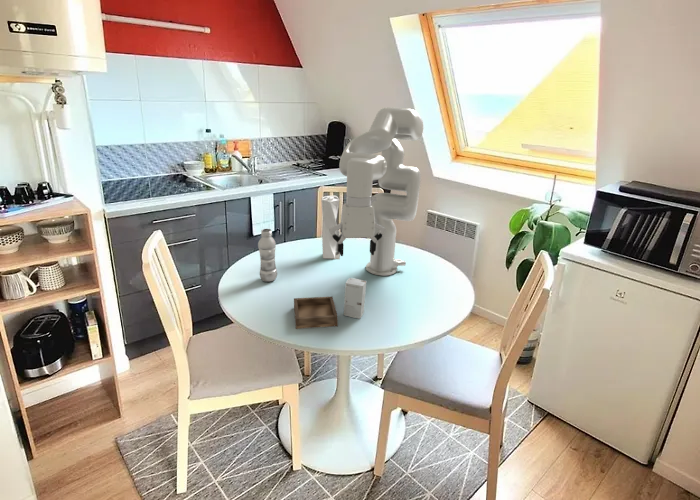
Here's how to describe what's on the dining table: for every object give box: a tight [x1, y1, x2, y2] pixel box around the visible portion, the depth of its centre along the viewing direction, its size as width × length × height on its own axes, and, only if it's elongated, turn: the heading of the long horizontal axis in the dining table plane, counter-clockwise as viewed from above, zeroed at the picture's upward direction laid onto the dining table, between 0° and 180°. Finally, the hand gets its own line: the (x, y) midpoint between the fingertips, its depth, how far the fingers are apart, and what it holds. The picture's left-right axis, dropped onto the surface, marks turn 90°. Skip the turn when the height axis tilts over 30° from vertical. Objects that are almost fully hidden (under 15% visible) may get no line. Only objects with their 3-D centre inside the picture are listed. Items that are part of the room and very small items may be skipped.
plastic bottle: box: [257, 228, 278, 283], centre depth 162 cm, size 6×7×20 cm
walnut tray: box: [293, 296, 339, 330], centre depth 142 cm, size 13×13×4 cm
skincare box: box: [343, 277, 367, 320], centre depth 143 cm, size 6×4×12 cm
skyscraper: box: [320, 195, 341, 260], centre depth 183 cm, size 8×8×28 cm
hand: (356, 253), depth 137 cm, fingers open, 9 cm apart
